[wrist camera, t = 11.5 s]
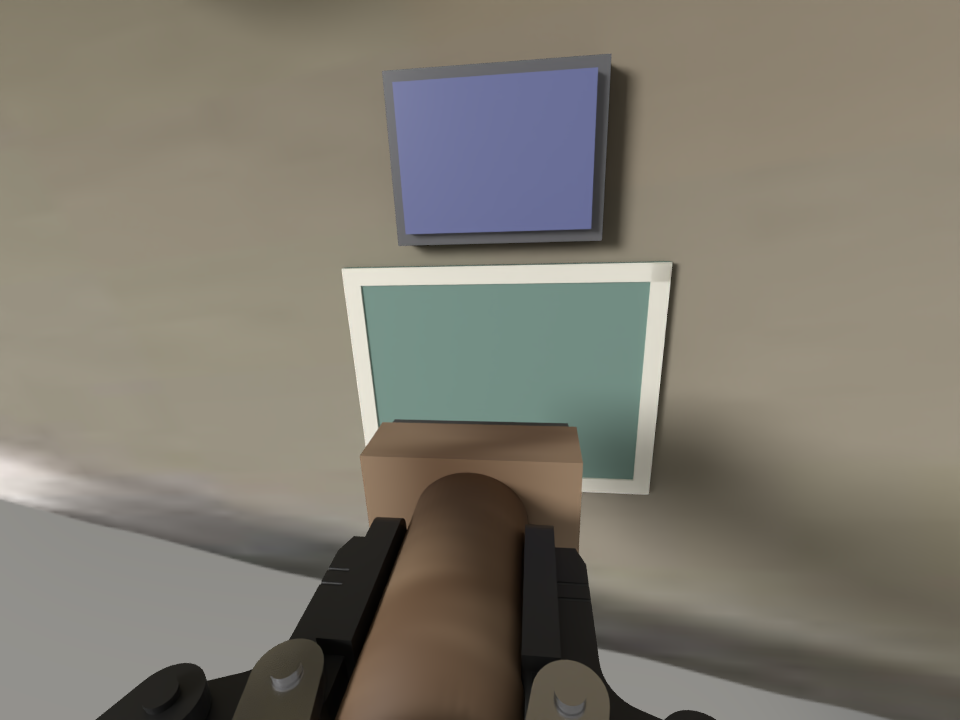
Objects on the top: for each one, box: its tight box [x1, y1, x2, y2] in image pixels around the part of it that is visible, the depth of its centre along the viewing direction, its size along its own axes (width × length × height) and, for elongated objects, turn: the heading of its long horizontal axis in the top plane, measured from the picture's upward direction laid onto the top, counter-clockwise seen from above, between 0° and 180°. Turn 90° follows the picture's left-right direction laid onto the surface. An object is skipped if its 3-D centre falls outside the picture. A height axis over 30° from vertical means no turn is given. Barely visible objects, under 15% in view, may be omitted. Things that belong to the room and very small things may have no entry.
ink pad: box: [382, 54, 611, 246], centre depth 18 cm, size 8×6×2 cm
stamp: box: [335, 419, 583, 720], centre depth 11 cm, size 6×4×10 cm
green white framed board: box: [342, 261, 673, 495], centre depth 22 cm, size 15×12×1 cm
